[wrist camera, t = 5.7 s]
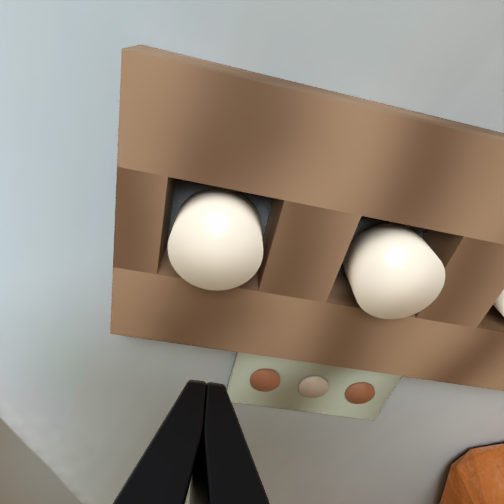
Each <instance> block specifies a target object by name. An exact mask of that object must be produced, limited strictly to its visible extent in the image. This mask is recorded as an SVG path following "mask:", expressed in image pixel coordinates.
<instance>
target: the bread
mask: <svg viewBox="0 0 504 504" xmlns="http://www.w3.org/2000/svg"><path fill="white" fill-rule="evenodd" d="M439 504H504V443H502V444H497V445H491V446H485V447H479V448H474V449H470V450H469V451H468V452H466V453H465V454H464V455H463V456H461V457H460V458H459V459H458V460H456V461H455V462H454V463H452V464H451V467H450V471H449V474H448V478H447V481H446V485H445V488H444V491H443V494H442V497H441V500H440V503H439Z"/></svg>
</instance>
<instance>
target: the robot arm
mask: <svg viewBox="0 0 504 504" xmlns="http://www.w3.org/2000/svg"><path fill="white" fill-rule="evenodd" d="M190 481H191V485H190ZM189 485H190V504H270V503H269V500H268V498H267V495H266V493H265V490H264V487H263V485H262V482H261V479H260V477H259V474H258V471H257V469H256V466H255V463H254V461H253V458H252V456H251V453H250V450H249V448H248V445H247V442H246V440H245V437H244V434H243V432H242V429H241V426H240V424H239V421H238V419H237V416H236V413H235V411H234V408H233V405H232V403H231V400H230V397H229V395H228V392H227V390H226V387H225V386H224V385H223V384H219V383H212V382H209V383H207V385H206V383H205V382H204V381H197V380H189V381H188V382H187V384H186V386H185V387H184V389H183V390H182V392H181V394H180V395H179V397H178V399H177V400H176V402H175V403H174V405H173V407H172V408H171V410H170V412H169V413H168V415H167V416H166V418H165V420H164V421H163V423H162V425H161V426H160V428H159V429H158V431H157V433H156V434H155V436H154V438H153V439H152V441H151V442H150V444H149V446H148V447H147V449H146V451H145V452H144V454H143V455H142V457H141V459H140V460H139V462H138V464H137V465H136V467H135V468H134V470H133V472H132V473H131V475H130V477H129V478H128V480H127V481H126V483H125V485H124V486H123V488H122V490H121V491H120V493H119V494H118V496H117V498H116V499H115V501H114V503H113V504H185V500H186V497H187V493H188V489H189Z"/></svg>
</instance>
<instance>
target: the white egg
mask: <svg viewBox="0 0 504 504" xmlns="http://www.w3.org/2000/svg"><path fill="white" fill-rule="evenodd" d="M493 305H494V306H495V308H496V309H497V310H498V311H499V312H500V313H501V314H502V315H503V317H504V290H503V291H502V292H501V294H500V295H499V297H498V298H497V299H496V301H495V302H494V304H493Z"/></svg>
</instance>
